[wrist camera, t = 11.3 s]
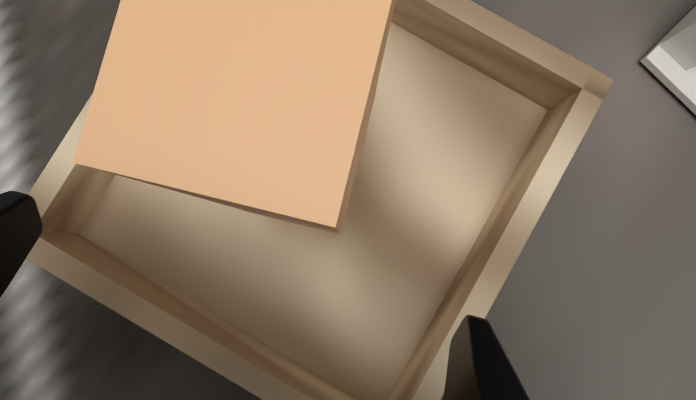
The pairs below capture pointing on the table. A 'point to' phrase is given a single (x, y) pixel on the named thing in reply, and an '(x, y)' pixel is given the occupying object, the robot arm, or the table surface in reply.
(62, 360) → the table surface
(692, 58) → the white piece
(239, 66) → the orange post
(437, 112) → the tray
